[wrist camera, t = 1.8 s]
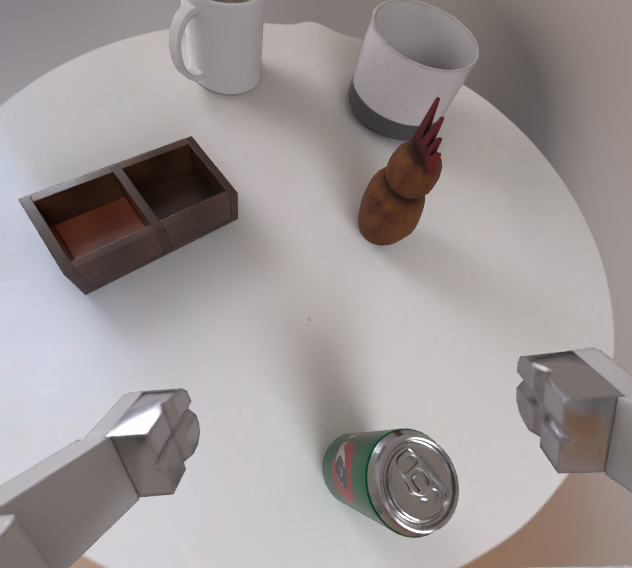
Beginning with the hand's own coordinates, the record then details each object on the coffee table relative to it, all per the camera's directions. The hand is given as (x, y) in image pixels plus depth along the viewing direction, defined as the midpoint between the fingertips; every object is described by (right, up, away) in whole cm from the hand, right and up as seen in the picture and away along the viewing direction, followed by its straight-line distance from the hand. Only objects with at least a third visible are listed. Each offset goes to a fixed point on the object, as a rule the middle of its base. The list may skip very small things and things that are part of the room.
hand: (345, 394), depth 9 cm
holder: (-17, +9, +25) cm, 32 cm away
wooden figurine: (+6, +9, +30) cm, 32 cm away
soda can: (+2, -12, +20) cm, 23 cm away
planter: (+10, +26, +39) cm, 48 cm away
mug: (-13, +30, +36) cm, 49 cm away
